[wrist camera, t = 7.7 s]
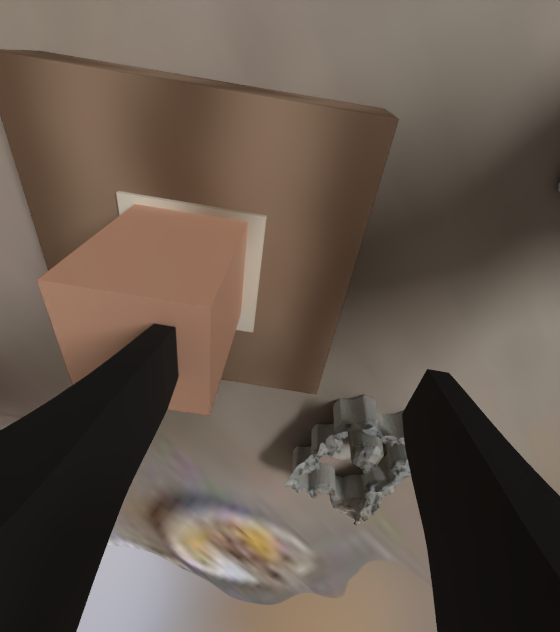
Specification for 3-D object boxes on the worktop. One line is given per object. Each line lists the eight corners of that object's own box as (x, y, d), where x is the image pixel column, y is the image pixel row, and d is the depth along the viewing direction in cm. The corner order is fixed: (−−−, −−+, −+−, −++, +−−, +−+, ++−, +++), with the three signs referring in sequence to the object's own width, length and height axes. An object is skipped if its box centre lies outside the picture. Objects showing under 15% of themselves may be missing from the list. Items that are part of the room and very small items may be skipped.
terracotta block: (248, 222, 14) (210, 307, 9) (240, 313, 17) (209, 416, 12) (134, 203, 14) (36, 280, 9) (146, 298, 17) (76, 395, 12)
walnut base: (384, 108, 14) (399, 119, 11) (316, 358, 22) (316, 397, 20) (39, 50, 14) (-25, 48, 11) (101, 323, 22) (72, 358, 20)
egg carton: (352, 480, 31) (355, 529, 28) (278, 452, 30) (273, 501, 26) (436, 419, 25) (454, 473, 22) (350, 380, 24) (355, 432, 20)
